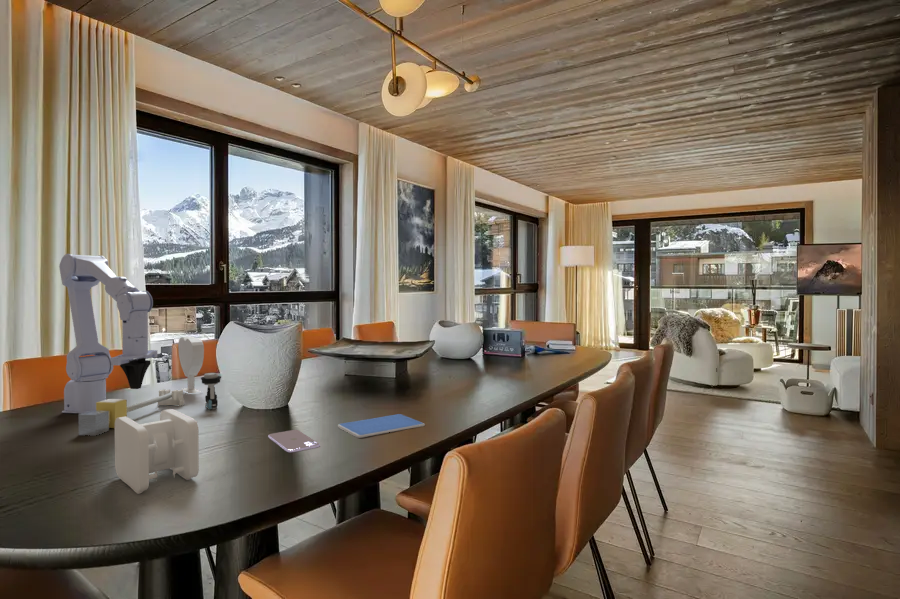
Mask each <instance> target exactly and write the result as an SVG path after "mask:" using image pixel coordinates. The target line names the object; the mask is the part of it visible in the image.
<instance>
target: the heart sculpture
mask: <svg viewBox="0 0 900 599" xmlns="http://www.w3.org/2000/svg"><path fill="white" fill-rule="evenodd" d="M177 345H178V357H179V363H180V367H181V369H182V371H183V373H184V376H185V377H187V387H183V388H184V389H183V388H181V389H182V390H184V391H186V392H188V393H196V392H201V390H200V389H198V388H196V387H195V381H196V380H195V379H196V378H195V376H198V373H200V371H201V369H202V367H203V363H204V360H205V359H204V358H205V357H204V356H205V345H204V341H203V340H202V339H201V338H199V337H195V336H182V337H180V338H179V339H178V344H177ZM195 388H196V389H195ZM197 389H198V390H197ZM199 390H200V391H199Z"/></svg>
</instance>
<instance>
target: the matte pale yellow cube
mask: <svg viewBox="0 0 900 599" xmlns="http://www.w3.org/2000/svg"><path fill="white" fill-rule="evenodd" d="M127 403H128V402H127V399H123V398H108V399H107V398H106V400H103V401H100V402H96V410H99V411H110V424H109V429H115V420H116V418H119V417H125V416H126V417H128V412H127V407H128V404H127Z"/></svg>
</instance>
